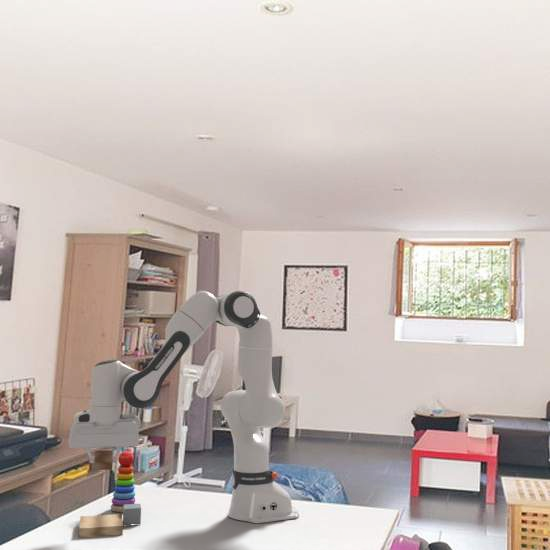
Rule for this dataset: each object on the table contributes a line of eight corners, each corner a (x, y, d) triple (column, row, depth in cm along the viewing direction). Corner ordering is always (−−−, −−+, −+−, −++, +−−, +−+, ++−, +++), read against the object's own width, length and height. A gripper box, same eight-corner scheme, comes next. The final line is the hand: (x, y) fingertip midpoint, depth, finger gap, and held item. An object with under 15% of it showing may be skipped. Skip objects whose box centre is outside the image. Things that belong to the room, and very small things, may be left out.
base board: (121, 522, 194) (121, 513, 194) (122, 534, 183) (122, 525, 183) (80, 525, 191) (80, 516, 191) (78, 537, 180) (79, 528, 180)
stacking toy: (129, 514, 203) (131, 453, 205) (106, 512, 205) (108, 452, 206) (139, 507, 211) (141, 449, 213) (117, 505, 213) (119, 448, 214)
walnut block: (111, 466, 191) (112, 449, 192) (111, 469, 187) (112, 452, 187) (94, 466, 190) (95, 449, 191) (94, 470, 185) (94, 452, 186)
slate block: (139, 520, 197) (140, 503, 197) (140, 525, 192) (141, 508, 193) (123, 521, 196) (123, 504, 196) (123, 526, 191) (124, 508, 191)
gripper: (140, 413, 195) (138, 459, 194) (70, 414, 190) (68, 461, 189) (141, 415, 189) (139, 463, 188) (69, 416, 184) (66, 466, 183)
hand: (103, 462), depth 188 cm, fingers closed on walnut block, 5 cm apart
